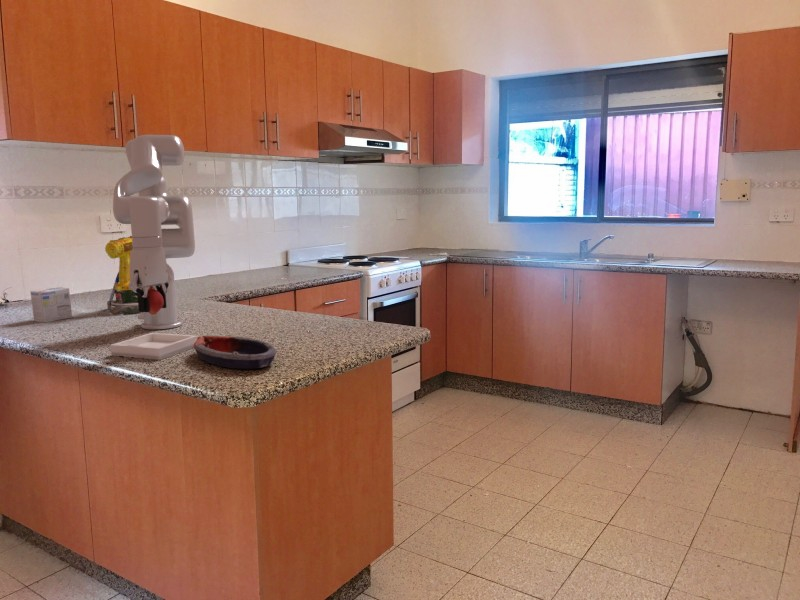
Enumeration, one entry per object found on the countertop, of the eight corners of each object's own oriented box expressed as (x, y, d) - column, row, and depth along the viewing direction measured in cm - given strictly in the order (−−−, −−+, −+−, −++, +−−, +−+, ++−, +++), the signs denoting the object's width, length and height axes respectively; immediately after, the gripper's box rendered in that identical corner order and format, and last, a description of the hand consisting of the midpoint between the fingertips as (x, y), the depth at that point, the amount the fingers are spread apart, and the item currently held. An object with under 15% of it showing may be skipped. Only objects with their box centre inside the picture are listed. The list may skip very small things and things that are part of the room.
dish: (238, 378, 152) (236, 357, 151) (178, 356, 174) (177, 338, 173) (293, 365, 162) (292, 345, 161) (230, 346, 184) (229, 329, 183)
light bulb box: (62, 316, 236) (58, 286, 234) (73, 317, 232) (70, 287, 231) (32, 321, 227) (29, 290, 225) (43, 323, 223) (40, 291, 222)
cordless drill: (166, 310, 243) (160, 236, 238) (110, 316, 234) (103, 238, 229) (157, 304, 259) (152, 234, 254) (105, 308, 250) (98, 236, 245)
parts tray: (111, 355, 175) (110, 344, 174) (152, 342, 189) (151, 332, 189) (160, 359, 169) (159, 348, 169) (198, 346, 184) (198, 335, 183)
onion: (138, 315, 178) (136, 286, 176) (159, 312, 182) (156, 283, 180) (147, 317, 173) (145, 287, 172) (168, 314, 177) (166, 285, 176)
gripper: (158, 241, 184) (163, 304, 187) (112, 245, 168) (118, 314, 171) (180, 241, 181) (184, 305, 184) (135, 245, 165) (141, 316, 168)
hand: (152, 309), depth 177 cm, fingers closed on onion, 5 cm apart
